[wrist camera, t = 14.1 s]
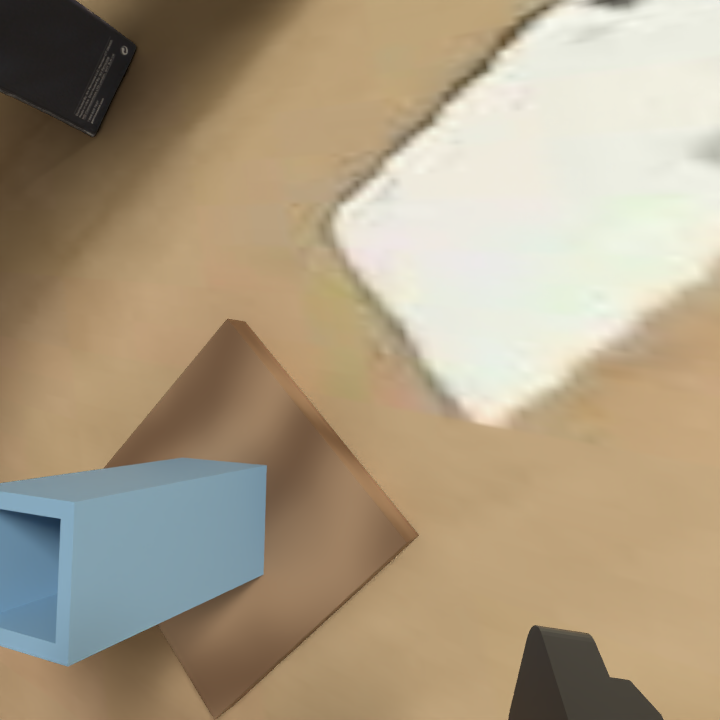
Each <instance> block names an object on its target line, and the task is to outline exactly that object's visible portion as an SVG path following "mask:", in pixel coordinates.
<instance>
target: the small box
mask: <svg viewBox="0 0 720 720" xmlns="http://www.w3.org/2000/svg"><path fill="white" fill-rule="evenodd" d="M135 50H136V45H135V44H134V43H133V42H131V41H130V40H129V39H127V38H126V37H125V36H123V35H122V34H121V33H120V32H118V31H117V30H116V29H114V28H113V27H112V26H110V25H109V24H108V23H106V22H105V21H104V20H102V19H101V18H100V17H98V16H97V15H95V14H94V13H93V12H91V11H90V10H89V9H87V8H86V7H84V6H83V5H81V4H80V3H79V2H77V1H76V0H0V92H2V93H4V94H5V95H8V96H11V97H13V98H16V99H18V100H19V101H21V102H24V103H26V104H28V105H30V106H32V107H34V108H36V109H38V110H40V111H42V112H44V113H46V114H48V115H50V116H52V117H54V118H56V119H58V120H60V121H62V122H64V123H66V124H68V125H70V126H72V127H74V128H76V129H78V130H80V131H82V132H84V133H86V134H88V135H90V136H91V137H93V136H95V135H96V133H97V130H98V129H99V126H100V124H101V121H102V120H103V117H104V115H105V113H106V111H107V109H108V107H109V105H110V102H111V100H112V98H113V96H114V94H115V92H116V90H117V88H118V86H119V84H120V82H121V80H122V78H123V76H124V74H125V73H126V70H127V68H128V66H129V64H130V62H131V59H132V57H133V55H134V52H135Z"/></svg>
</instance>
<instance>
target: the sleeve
mask: <svg viewBox="0 0 720 720" xmlns="http://www.w3.org/2000/svg"><path fill="white" fill-rule="evenodd" d="M266 473H267V465H258V464H247V463H236V462H225V461H214V460H203V459H192V458H176V459H169V460H162V461H155V462H148V463H141V464H134V465H126V466H119V467H112V468H105V469H98V470H91V471H84V472H77V473H70V474H63V475H56V476H48V477H41V478H34V479H27V480H20V481H13V482H6V483H0V646H3V647H6V648H9V649H12V650H16V651H19V652H22V653H25V654H29V655H32V656H35V657H38V658H42V659H45V660H48V661H51V662H55V663H58V664H61V665H64V666H70V665H72V664H74V663H76V662H78V661H81V660H83V659H85V658H87V657H89V656H91V655H93V654H95V653H98V652H100V651H102V650H104V649H106V648H108V647H110V646H112V645H115V644H117V643H119V642H121V641H123V640H125V639H127V638H129V637H132V636H134V635H136V634H138V633H140V632H142V631H144V630H147V629H149V628H151V627H153V626H155V625H157V624H159V623H161V622H164V621H166V620H168V619H170V618H172V617H174V616H176V615H178V614H181V613H183V612H185V611H187V610H189V609H191V608H193V607H195V606H198V605H200V604H202V603H204V602H206V601H208V600H210V599H212V598H215V597H217V596H219V595H221V594H223V593H225V592H227V591H229V590H232V589H234V588H236V587H238V586H240V585H242V584H244V583H246V582H249V581H251V580H253V579H255V578H257V577H259V576H261V575H264V542H265V507H266Z"/></svg>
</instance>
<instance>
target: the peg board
mask: <svg viewBox="0 0 720 720" xmlns="http://www.w3.org/2000/svg"><path fill="white" fill-rule="evenodd" d="M176 458H192V459H203V460H214V461H225V462H236V463H247V464H258V465H267V473H266V507H265V542H264V575H261V576H259V577H257V578H255V579H253V580H251V581H249V582H246V583H244V584H242V585H240V586H238V587H236V588H234V589H232V590H229V591H227V592H225V593H223V594H221V595H219V596H217V597H215V598H212V599H210V600H208V601H206V602H204V603H202V604H200V605H198V606H195V607H193V608H191V609H189V610H187V611H185V612H183V613H181V614H178V615H176V616H174V617H172V618H170V619H168V620H166V621H164V622H161V623H159V624H157V625H158V627H159V628H160V630H161V632H162V633H163V635H164V637H165V638H166V640H167V642H168V643H169V645H170V647H171V648H172V650H173V652H174V653H175V655H176V657H177V658H178V660H179V662H180V663H181V665H182V666H183V668H184V670H185V671H186V673H187V675H188V676H189V678H190V680H191V681H192V683H193V685H194V686H195V688H196V690H197V691H198V693H199V695H200V696H201V698H202V700H203V701H204V703H205V705H206V706H207V708H208V709H209V711H210V713H211V714H212V716H213V718H214V719H216V718H217V717H218V716H220V715H221V714H222V713H224V712H225V711H226V710H228V709H229V708H230V707H232V706H233V705H234V704H235V703H236V702H237V701H239V700H240V699H241V698H242V697H243V696H244V695H245V694H246V693H247V692H248V691H249V690H251V689H252V688H253V687H254V686H255V685H256V684H257V683H258V682H259V681H260V680H261V679H263V678H264V677H265V676H266V675H267V674H268V673H269V672H270V671H271V670H272V669H273V668H275V667H276V666H277V665H278V664H279V663H280V662H281V661H282V660H283V659H284V658H285V657H287V656H288V655H289V654H290V653H291V652H292V651H293V650H294V649H295V648H296V647H297V646H299V645H300V644H301V643H302V642H303V641H304V640H305V639H306V638H307V637H308V636H309V635H311V634H312V633H313V632H314V631H315V630H316V629H317V628H318V627H319V626H320V625H321V624H323V623H324V622H325V621H326V620H327V619H328V618H329V617H330V616H331V615H332V614H333V613H335V612H336V611H337V610H338V609H339V608H340V607H341V606H342V605H343V604H344V603H345V602H347V601H348V600H349V599H350V598H351V597H352V596H353V595H354V594H355V593H356V592H357V591H359V590H360V589H361V588H362V587H363V586H364V585H365V584H366V583H367V582H368V581H369V580H371V579H372V578H373V577H374V576H375V575H376V574H377V573H378V572H379V571H380V570H381V569H383V568H384V567H385V566H386V565H387V564H388V563H389V562H390V561H391V560H392V559H393V558H395V557H396V556H397V555H398V554H399V553H400V552H401V551H402V550H403V549H404V548H405V547H407V546H408V545H409V544H410V543H411V542H412V541H413V540H414V539H415V538H416V537H417V536H419V535H418V534H417V532H416V531H415V530H414V529H413V527H412V526H411V525H410V524H409V523H408V521H407V520H406V519H405V518H404V516H403V515H402V514H401V513H400V511H399V510H398V509H397V508H396V507H395V505H394V504H393V503H392V502H391V500H390V499H389V498H388V497H387V496H386V494H385V493H384V492H383V491H382V489H381V488H380V487H379V486H378V484H377V483H376V482H375V481H374V480H373V478H372V477H371V476H370V475H369V473H368V472H367V471H366V470H365V468H364V467H363V466H362V465H361V464H360V462H359V461H358V460H357V459H356V457H355V456H354V455H353V454H352V453H351V451H350V450H349V449H348V448H347V446H346V445H345V444H344V443H343V441H342V440H341V439H340V438H339V437H338V435H337V434H336V433H335V432H334V430H333V429H332V428H331V427H330V425H329V424H328V423H327V422H326V421H325V419H324V418H323V417H322V416H321V414H320V413H319V412H318V411H317V410H316V408H315V407H314V406H313V405H312V403H311V402H310V401H309V400H308V398H307V397H306V396H305V395H304V394H303V392H302V391H301V390H300V389H299V387H298V386H297V385H296V384H295V382H294V381H293V380H292V379H291V378H290V376H289V375H288V374H287V373H286V371H285V370H284V369H283V368H282V367H281V365H280V364H279V363H278V362H277V360H276V359H275V358H274V357H273V355H272V354H271V353H270V352H269V351H268V349H267V348H266V347H265V346H264V344H263V343H262V342H261V341H260V339H259V338H258V337H257V336H256V335H255V333H254V332H253V331H252V330H251V328H250V327H249V326H248V325H247V324H246V322H243V321H238V320H232V319H227V320H226V321H225V322H224V324H223V325H222V326H221V327H220V328H219V330H218V331H217V332H216V333H215V334H214V336H213V337H212V338H211V339H210V340H209V342H208V343H207V344H206V345H205V346H204V348H203V349H202V350H201V351H200V353H199V354H198V355H197V356H196V357H195V359H194V360H193V361H192V362H191V363H190V365H189V366H188V367H187V368H186V369H185V371H184V372H183V373H182V374H181V375H180V377H179V378H178V379H177V380H176V382H175V383H174V384H173V385H172V386H171V388H170V389H169V390H168V391H167V392H166V394H165V395H164V396H163V397H162V398H161V400H160V401H159V402H158V403H157V404H156V406H155V407H154V408H153V409H152V410H151V412H150V413H149V414H148V415H147V417H146V418H145V419H144V420H143V421H142V423H141V424H140V425H139V426H138V427H137V429H136V430H135V431H134V432H133V433H132V435H131V436H130V437H129V438H128V439H127V441H126V442H125V443H124V444H123V446H122V447H121V448H120V449H119V450H118V452H117V453H116V454H115V455H114V456H113V458H112V459H111V460H110V461H109V462H108V464H107V465H106V466H105V467H104V468H103V469H105V468H112V467H119V466H126V465H134V464H141V463H148V462H155V461H162V460H169V459H176Z"/></svg>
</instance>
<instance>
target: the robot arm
mask: <svg viewBox="0 0 720 720" xmlns="http://www.w3.org/2000/svg"><path fill="white" fill-rule="evenodd" d="M508 720H663V718H662V716H661V714H660V713H659V712H658V711H657V710H656V709H655V708H654V706H653V705H652V704H651V703H650V702H649V701H648V700H647V699H646V698H645V697H644V695H643V694H642V693H641V692H640V691H639V690H638V689H637V688H636V687H635V686H634V685H633V683H632V682H631V681H630V680H624V679H618V678H611V677H609V674H608V672H607V670H606V667H605V665H604V662H603V660H602V658H601V655H600V653H599V651H598V648H597V646H596V643H595V641H594V639H593V638H592V636H591V635H590V634H588V633H582V632H576V631H569V630H562V629H556V628H549V627H543V626H536V625H535V626H533V627H532V628H531V629H530V631H529V634H528V637H527V641H526V645H525V649H524V653H523V658H522V662H521V666H520V670H519V674H518V679H517V683H516V687H515V691H514V696H513V700H512V704H511V708H510V713H509V719H508Z"/></svg>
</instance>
